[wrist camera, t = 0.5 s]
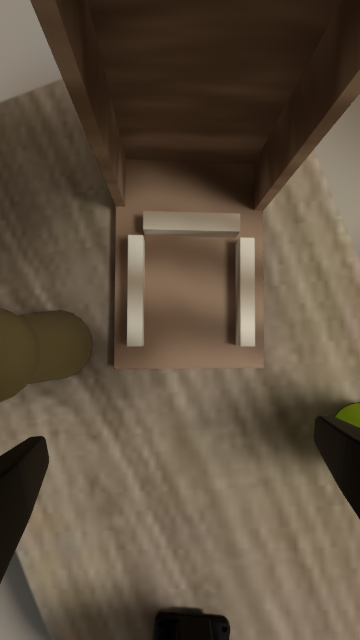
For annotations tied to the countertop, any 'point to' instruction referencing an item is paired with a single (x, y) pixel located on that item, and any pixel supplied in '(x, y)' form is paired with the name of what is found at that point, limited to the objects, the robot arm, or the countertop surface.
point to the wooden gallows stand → (199, 151)
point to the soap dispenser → (350, 414)
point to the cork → (40, 348)
